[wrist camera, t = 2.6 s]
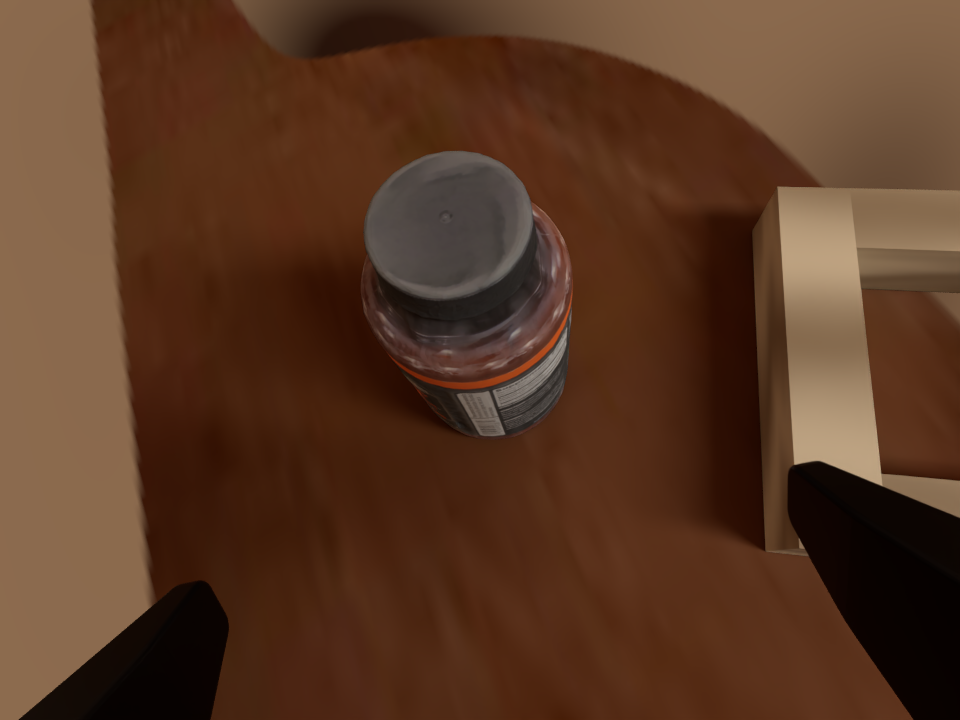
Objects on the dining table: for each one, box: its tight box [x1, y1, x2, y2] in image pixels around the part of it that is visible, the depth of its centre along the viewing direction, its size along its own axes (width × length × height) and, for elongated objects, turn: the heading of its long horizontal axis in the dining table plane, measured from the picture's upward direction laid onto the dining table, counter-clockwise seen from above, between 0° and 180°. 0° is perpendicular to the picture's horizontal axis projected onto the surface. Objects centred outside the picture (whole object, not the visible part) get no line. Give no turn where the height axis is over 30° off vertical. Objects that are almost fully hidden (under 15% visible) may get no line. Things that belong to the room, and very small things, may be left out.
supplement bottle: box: [361, 151, 573, 440], centre depth 18 cm, size 6×6×11 cm
